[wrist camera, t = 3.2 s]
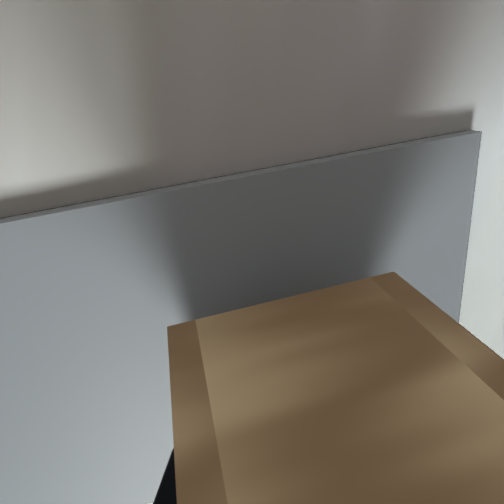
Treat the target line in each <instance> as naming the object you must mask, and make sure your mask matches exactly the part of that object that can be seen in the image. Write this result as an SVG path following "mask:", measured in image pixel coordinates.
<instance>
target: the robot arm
mask: <svg viewBox="0 0 504 504" xmlns="http://www.w3.org/2000/svg"><path fill="white" fill-rule="evenodd" d="M153 504H177V497H176V479H175V461H174V448H173V450H172V452H171V455H170V458H169V460H168V463H167V466H166V469H165V471H164V474H163V477H162V480H161V482H160V485H159V488H158V491H157V494H156V496H155V499H154V502H153Z"/></svg>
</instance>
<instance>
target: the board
mask: <svg viewBox="0 0 504 504" xmlns="http://www.w3.org/2000/svg"><path fill="white" fill-rule="evenodd" d="M481 133H482V132H481V131H474V130H467V131H462V132H456V133H451V134H446V135H440V136H435V137H430V138H425V139H419V140H414V141H409V142H403V143H398V144H393V145H388V146H382V147H377V148H372V149H366V150H361V151H356V152H351V153H345V154H340V155H335V156H329V157H324V158H319V159H314V160H308V161H303V162H298V163H292V164H287V165H282V166H277V167H271V168H266V169H261V170H256V171H250V172H245V173H240V174H234V175H229V176H224V177H219V178H213V179H208V180H203V181H197V182H192V183H187V184H182V185H176V186H171V187H166V188H160V189H155V190H150V191H145V192H139V193H134V194H129V195H123V196H118V197H113V198H108V199H102V200H97V201H92V202H86V203H81V204H76V205H71V206H65V207H60V208H55V209H49V210H44V211H39V212H34V213H28V214H23V215H18V216H12V217H7V218H2V219H0V504H148V503H151V502H154V499H155V496H156V494H157V491H158V488H159V485H160V482H161V480H162V477H163V474H164V471H165V469H166V466H167V463H168V460H169V458H170V455H171V452H172V450H173V448H174V443H173V425H172V407H171V390H170V372H169V354H168V336H167V326H171V325H175V324H180V323H184V322H188V321H192V320H196V319H200V318H204V317H208V316H212V315H217V314H221V313H225V312H229V311H233V310H237V309H241V308H245V307H250V306H254V305H258V304H262V303H266V302H270V301H274V300H278V299H282V298H287V297H291V296H295V295H299V294H303V293H307V292H311V291H315V290H319V289H324V288H328V287H332V286H336V285H340V284H344V283H348V282H352V281H357V280H361V279H365V278H369V277H373V276H377V275H381V274H385V273H389V272H395V273H397V274H398V275H399V276H400V277H402V278H403V279H404V280H405V281H407V282H408V283H409V284H410V285H411V286H413V287H414V288H415V289H416V290H418V291H419V292H420V293H421V294H423V295H424V296H425V297H426V298H428V299H429V300H430V301H431V302H433V303H434V304H435V305H436V306H438V307H439V308H440V309H441V310H443V311H444V312H445V313H446V314H448V315H449V316H450V317H451V318H453V319H454V320H455V321H456V322H458V323H459V316H460V308H461V299H462V291H463V283H464V274H465V266H466V258H467V249H468V241H469V233H470V224H471V216H472V208H473V200H474V191H475V183H476V175H477V166H478V158H479V150H480V141H481Z"/></svg>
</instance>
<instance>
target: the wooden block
mask: <svg viewBox="0 0 504 504" xmlns="http://www.w3.org/2000/svg"><path fill="white" fill-rule="evenodd" d="M167 336H168V354H169V372H170V390H171V407H172V425H173V443H174V461H175V479H176V497H177V504H504V359H503V358H501V357H500V356H499V355H498V354H496V353H495V352H494V351H493V350H491V349H490V348H489V347H488V346H486V345H485V344H484V343H483V342H481V341H480V340H479V339H478V338H476V337H475V336H474V335H473V334H471V333H470V332H469V331H468V330H466V329H465V328H464V327H463V326H461V325H460V324H459V323H458V322H456V321H455V320H454V319H453V318H451V317H450V316H449V315H448V314H446V313H445V312H444V311H443V310H441V309H440V308H439V307H438V306H436V305H435V304H434V303H433V302H431V301H430V300H429V299H428V298H426V297H425V296H424V295H423V294H421V293H420V292H419V291H418V290H416V289H415V288H414V287H413V286H411V285H410V284H409V283H408V282H407V281H405V280H404V279H403V278H402V277H400V276H399V275H398V274H397V273H395V272H389V273H385V274H381V275H377V276H373V277H369V278H365V279H361V280H357V281H352V282H348V283H344V284H340V285H336V286H332V287H328V288H324V289H319V290H315V291H311V292H307V293H303V294H299V295H295V296H291V297H287V298H282V299H278V300H274V301H270V302H266V303H262V304H258V305H254V306H250V307H245V308H241V309H237V310H233V311H229V312H225V313H221V314H217V315H212V316H208V317H204V318H200V319H196V320H192V321H188V322H184V323H180V324H175V325H171V326H167Z"/></svg>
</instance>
